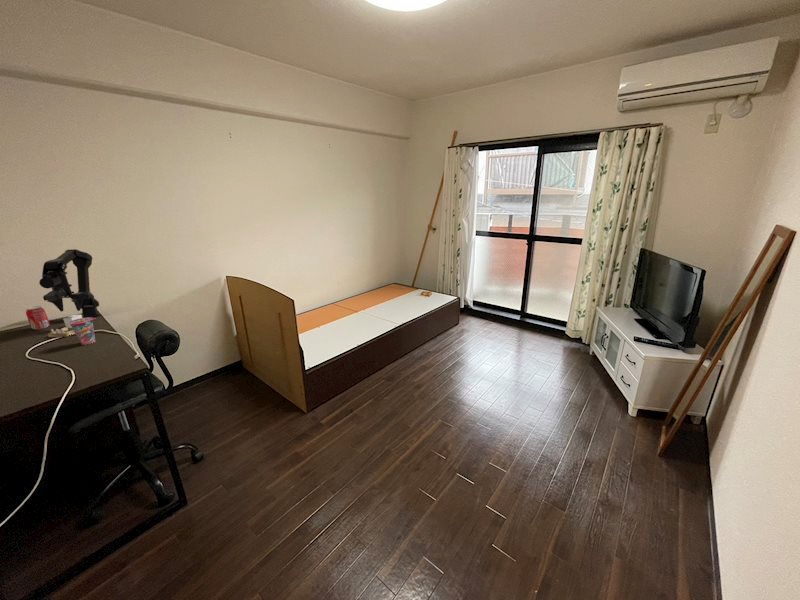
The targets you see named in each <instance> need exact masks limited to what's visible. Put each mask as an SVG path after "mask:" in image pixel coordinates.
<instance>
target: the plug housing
mask: <svg viewBox="0 0 800 600" xmlns="http://www.w3.org/2000/svg"><path fill="white" fill-rule="evenodd" d="M80 318H83V314H71V315H69V316H66V317H64V318H63V319H62V320H63V322H64V325H65V327H67V328H68V329H73V328H72V326H71V325H70V324H69V322H70V321H72V320H75V319H80Z"/></svg>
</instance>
